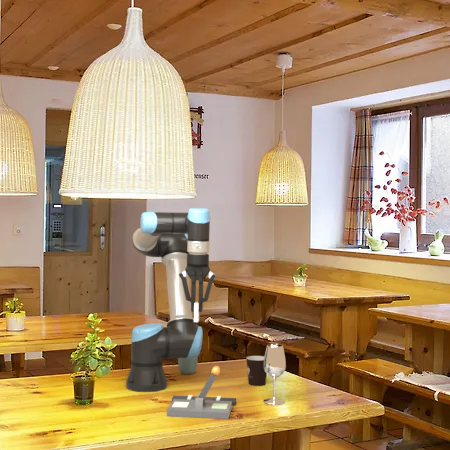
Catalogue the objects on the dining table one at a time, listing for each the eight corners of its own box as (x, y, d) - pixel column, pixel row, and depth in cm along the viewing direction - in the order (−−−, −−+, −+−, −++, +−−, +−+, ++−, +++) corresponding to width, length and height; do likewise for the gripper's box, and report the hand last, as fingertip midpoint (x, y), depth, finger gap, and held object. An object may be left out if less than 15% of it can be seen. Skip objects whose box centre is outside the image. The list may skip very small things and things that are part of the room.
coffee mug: (266, 387, 284) (267, 361, 284) (244, 385, 286) (244, 359, 286) (270, 380, 296) (271, 355, 295) (249, 379, 297) (249, 353, 297)
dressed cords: (171, 403, 259) (171, 397, 259) (173, 399, 264) (173, 394, 264) (235, 406, 257) (235, 400, 257) (236, 402, 262) (236, 396, 262)
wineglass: (289, 402, 264) (290, 345, 263) (275, 406, 258) (276, 348, 257) (272, 398, 269) (273, 342, 268) (258, 402, 263) (259, 345, 262)
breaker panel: (166, 416, 243) (167, 400, 243) (173, 404, 257) (173, 389, 257) (228, 418, 242) (228, 402, 242) (231, 407, 256) (232, 392, 255)
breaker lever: (195, 401, 248) (213, 366, 247) (196, 398, 252) (215, 364, 251) (202, 405, 247) (220, 370, 247) (203, 401, 251) (221, 368, 250)
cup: (195, 376, 301) (195, 351, 301) (176, 375, 302) (176, 350, 302) (198, 371, 309) (199, 347, 308) (180, 370, 310) (180, 346, 310)
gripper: (177, 253, 255) (175, 322, 257) (215, 254, 254) (213, 324, 255) (181, 251, 263) (179, 318, 264) (218, 252, 261) (216, 320, 263)
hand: (196, 321), depth 260 cm, fingers closed
